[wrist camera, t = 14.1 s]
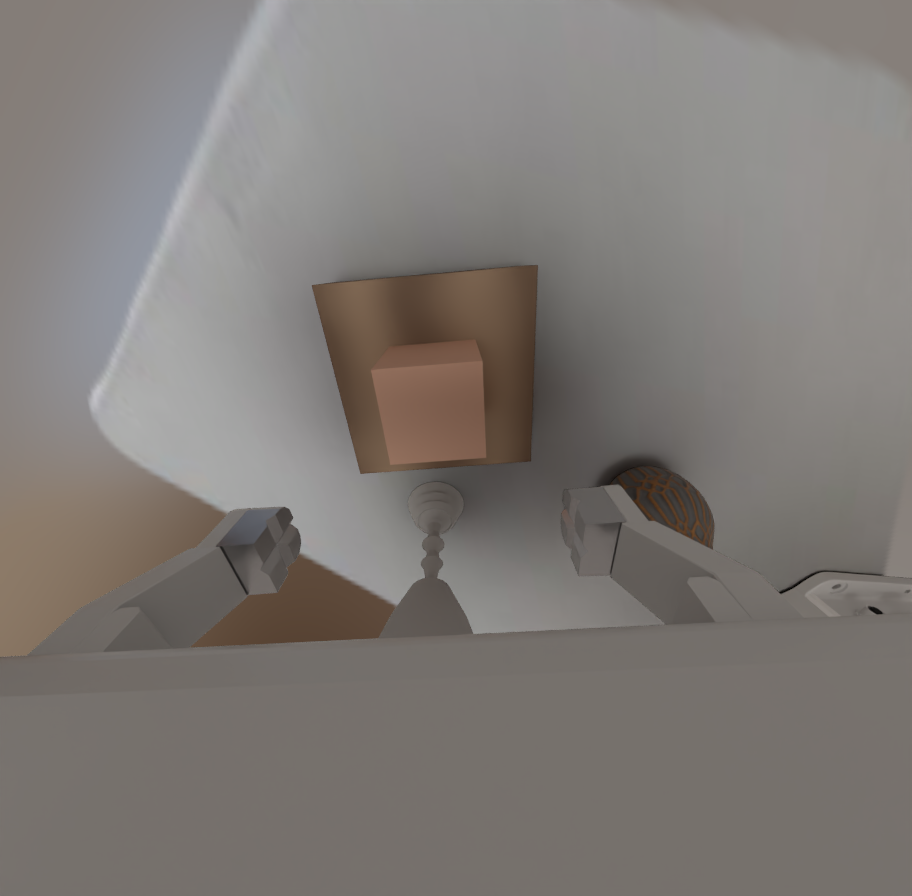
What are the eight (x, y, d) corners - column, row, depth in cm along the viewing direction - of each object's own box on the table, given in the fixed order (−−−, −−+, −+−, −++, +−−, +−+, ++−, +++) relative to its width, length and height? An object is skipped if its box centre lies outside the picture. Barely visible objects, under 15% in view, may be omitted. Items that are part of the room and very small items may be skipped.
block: (475, 339, 19) (482, 360, 15) (479, 418, 21) (486, 457, 17) (389, 346, 19) (370, 369, 15) (402, 424, 22) (390, 464, 17)
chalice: (409, 462, 28) (353, 722, 12) (485, 483, 29) (527, 746, 13) (389, 525, 31) (325, 796, 15) (458, 542, 32) (465, 809, 16)
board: (523, 265, 21) (537, 265, 17) (520, 435, 26) (530, 461, 23) (335, 282, 21) (311, 285, 18) (372, 446, 27) (360, 473, 23)
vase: (641, 438, 27) (717, 507, 19) (688, 482, 29) (774, 559, 21) (576, 492, 29) (621, 572, 22) (624, 528, 31) (680, 613, 24)
